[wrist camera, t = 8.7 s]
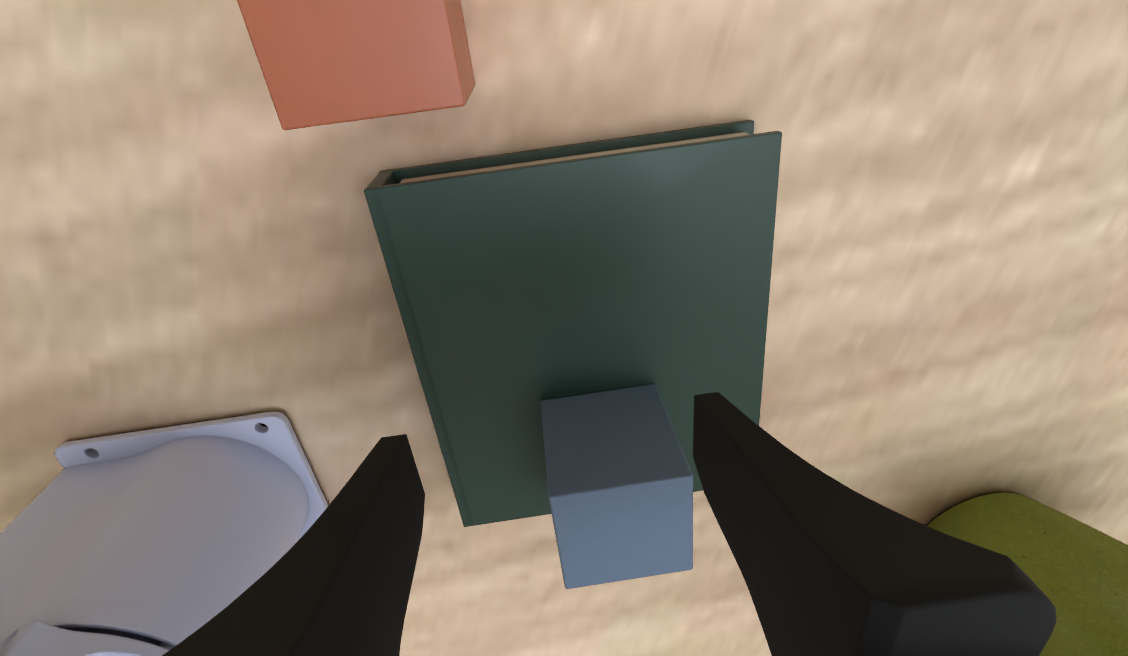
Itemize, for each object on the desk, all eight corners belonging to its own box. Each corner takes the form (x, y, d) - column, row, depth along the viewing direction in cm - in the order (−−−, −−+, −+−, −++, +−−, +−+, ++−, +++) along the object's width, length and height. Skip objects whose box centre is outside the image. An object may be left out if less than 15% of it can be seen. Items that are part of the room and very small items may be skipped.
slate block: (554, 484, 23) (565, 590, 19) (540, 400, 21) (548, 498, 17) (658, 468, 23) (693, 570, 19) (655, 382, 21) (693, 476, 17)
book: (467, 485, 26) (463, 527, 24) (380, 170, 19) (363, 190, 17) (734, 445, 27) (754, 482, 24) (751, 119, 19) (782, 132, 17)
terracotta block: (337, 104, 18) (281, 130, 13) (286, -65, 16) (201, -99, 11) (475, 85, 18) (465, 106, 13) (444, -86, 16) (420, -128, 11)
